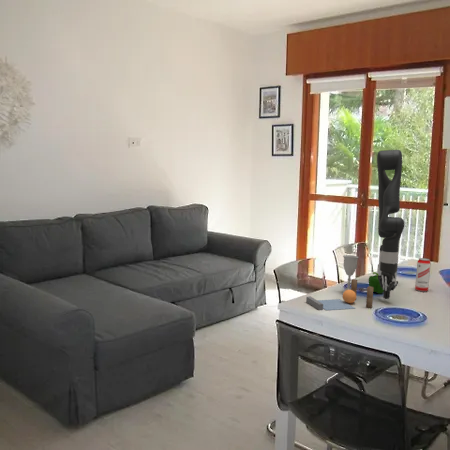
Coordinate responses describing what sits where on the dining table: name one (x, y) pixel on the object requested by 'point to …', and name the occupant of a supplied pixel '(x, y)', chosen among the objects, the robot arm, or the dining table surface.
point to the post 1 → (354, 285)
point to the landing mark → (335, 304)
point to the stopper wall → (314, 303)
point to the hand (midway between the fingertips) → (386, 298)
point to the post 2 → (369, 297)
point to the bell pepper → (375, 283)
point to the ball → (349, 296)
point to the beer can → (422, 275)
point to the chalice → (350, 267)
